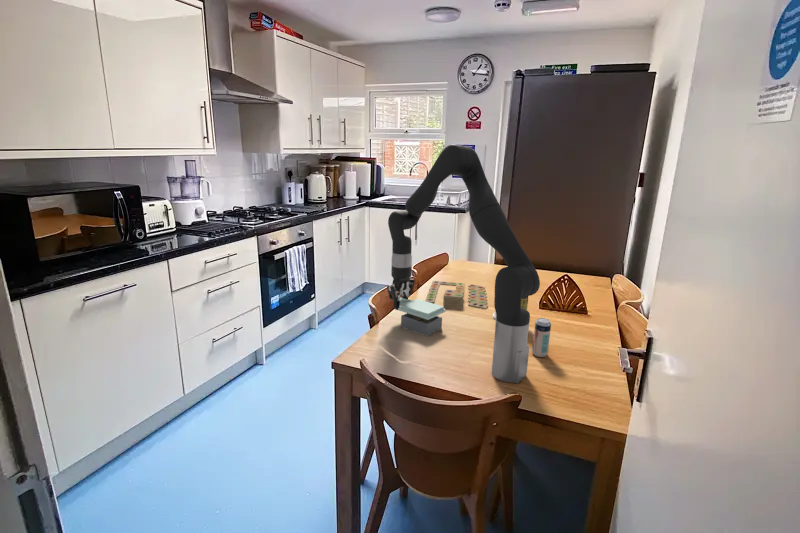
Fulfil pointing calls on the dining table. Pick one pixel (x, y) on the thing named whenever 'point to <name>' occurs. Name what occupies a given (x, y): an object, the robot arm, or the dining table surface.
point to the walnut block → (417, 318)
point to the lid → (420, 308)
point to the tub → (421, 324)
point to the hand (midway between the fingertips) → (400, 307)
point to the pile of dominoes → (459, 295)
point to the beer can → (541, 337)
